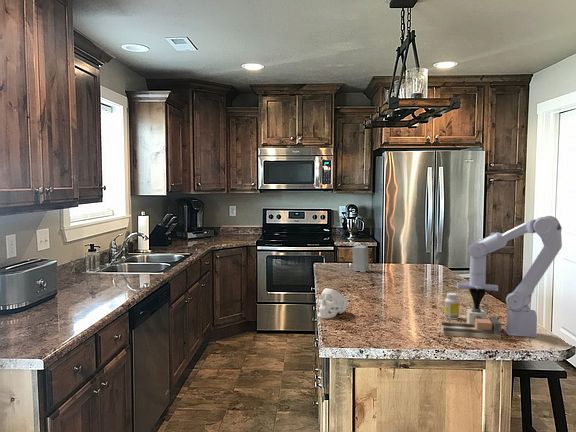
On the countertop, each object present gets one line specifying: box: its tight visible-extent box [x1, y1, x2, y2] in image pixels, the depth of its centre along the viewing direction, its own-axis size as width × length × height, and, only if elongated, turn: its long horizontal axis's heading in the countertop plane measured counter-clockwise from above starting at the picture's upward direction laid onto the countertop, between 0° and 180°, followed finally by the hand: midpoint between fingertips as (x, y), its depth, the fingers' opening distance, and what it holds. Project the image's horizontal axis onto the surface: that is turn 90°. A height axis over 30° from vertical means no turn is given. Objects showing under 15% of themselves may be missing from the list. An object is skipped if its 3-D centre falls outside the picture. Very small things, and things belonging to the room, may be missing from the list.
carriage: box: [475, 318, 492, 330], centre depth 170 cm, size 5×5×3 cm
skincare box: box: [351, 245, 370, 273], centre depth 294 cm, size 8×7×16 cm
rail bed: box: [440, 316, 502, 340], centre depth 171 cm, size 19×9×6 cm, turn 78°
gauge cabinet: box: [466, 308, 487, 324], centre depth 180 cm, size 6×6×6 cm
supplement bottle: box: [444, 292, 460, 320], centre depth 191 cm, size 5×5×10 cm
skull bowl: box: [317, 287, 349, 320], centre depth 195 cm, size 10×14×12 cm
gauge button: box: [472, 307, 482, 313], centre depth 181 cm, size 3×3×5 cm
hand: (476, 308), depth 180 cm, fingers closed, pressing on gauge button
